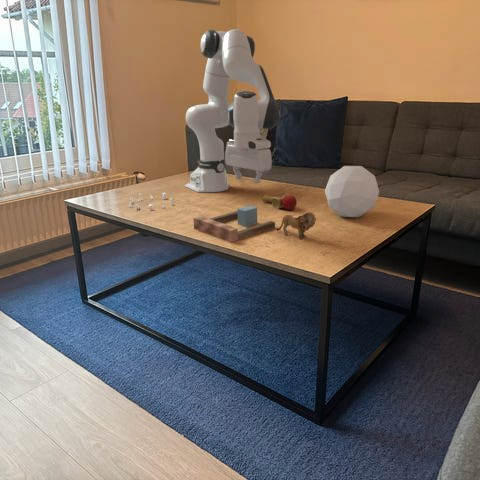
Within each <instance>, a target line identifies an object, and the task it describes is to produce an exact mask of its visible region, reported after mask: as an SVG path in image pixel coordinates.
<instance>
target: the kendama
mask: <svg viewBox="0 0 480 480" xmlns="http://www.w3.org/2000/svg"><path fill="white" fill-rule="evenodd" d="M262 202H263V203H271V204H272V206H273V208H274V209H276V210H279V209H281V208H284V209H285V210H287V211H293V210H294V209H295V207H297V203H298V200H297V198H296V197H295V196H294V195H291V194H289V193H284V194H283V195H282V197H277V196H269V195H267V194H265V195H263V196H262Z"/></svg>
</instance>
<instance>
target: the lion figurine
mask: <svg viewBox="0 0 480 480" xmlns="http://www.w3.org/2000/svg"><path fill="white" fill-rule="evenodd" d="M315 216H316V215H315V214H314V213H313V212H310V211H309V212H306V213H303V214H302V215H299V216H298V217H294V216H293V215H291V214H285V215H284V216H283V218H282V220H281V224H280V225H279V226H280V227H279V228H277V229H276V231H280V230H281V229H282V231H283V235H284V236H289V234H288V233H287V232H288V229H287V227H291V228H292V229H294V230H295V229H296V230H297V232H298V240H301V241H302V240H303V239H304V238H306V235H305V232H306V231H309V230H310V228H312V227H314V225H315V223H316V222H317V217H315ZM282 227H283V228H282Z"/></svg>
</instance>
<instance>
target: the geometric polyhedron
mask: <svg viewBox="0 0 480 480" xmlns="http://www.w3.org/2000/svg"><path fill="white" fill-rule="evenodd" d="M324 193H325V198H326V201H327V204H328V208H329V209H331V210H333V211H334V212H335V213H337V214H338V215H339V216H341V217H342V218H361V216H363V215H364V214H367V213H368V212H369V211H371V210H372V209H374V207H375V205H376V203H377V200H378V197H379V194H380V190H379V186H378V182H377V179H376V176H375V175H374V174H373V173H372V172H370V171H369V170H368V169H366V168H365V167H364V166H362V165H344V166H342V167H341V168H340V169H338V170H337V171H335V172H333V173H332V174H330V176H329V179H328V181H327V184H326V187H325V190H324Z"/></svg>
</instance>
